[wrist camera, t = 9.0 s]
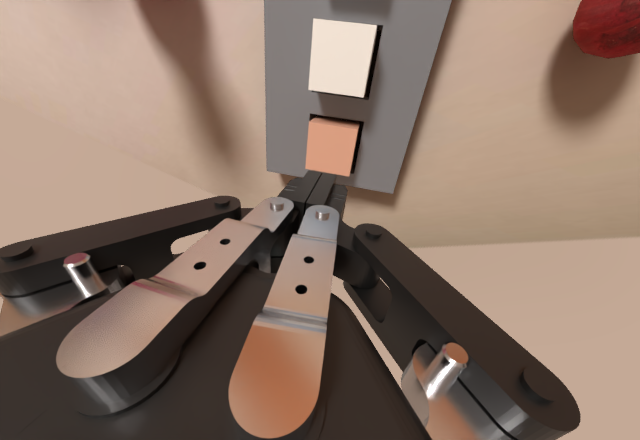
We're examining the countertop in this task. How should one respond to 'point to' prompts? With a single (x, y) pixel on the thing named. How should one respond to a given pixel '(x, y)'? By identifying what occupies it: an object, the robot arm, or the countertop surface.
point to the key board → (376, 110)
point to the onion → (608, 27)
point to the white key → (341, 56)
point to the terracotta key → (331, 144)
